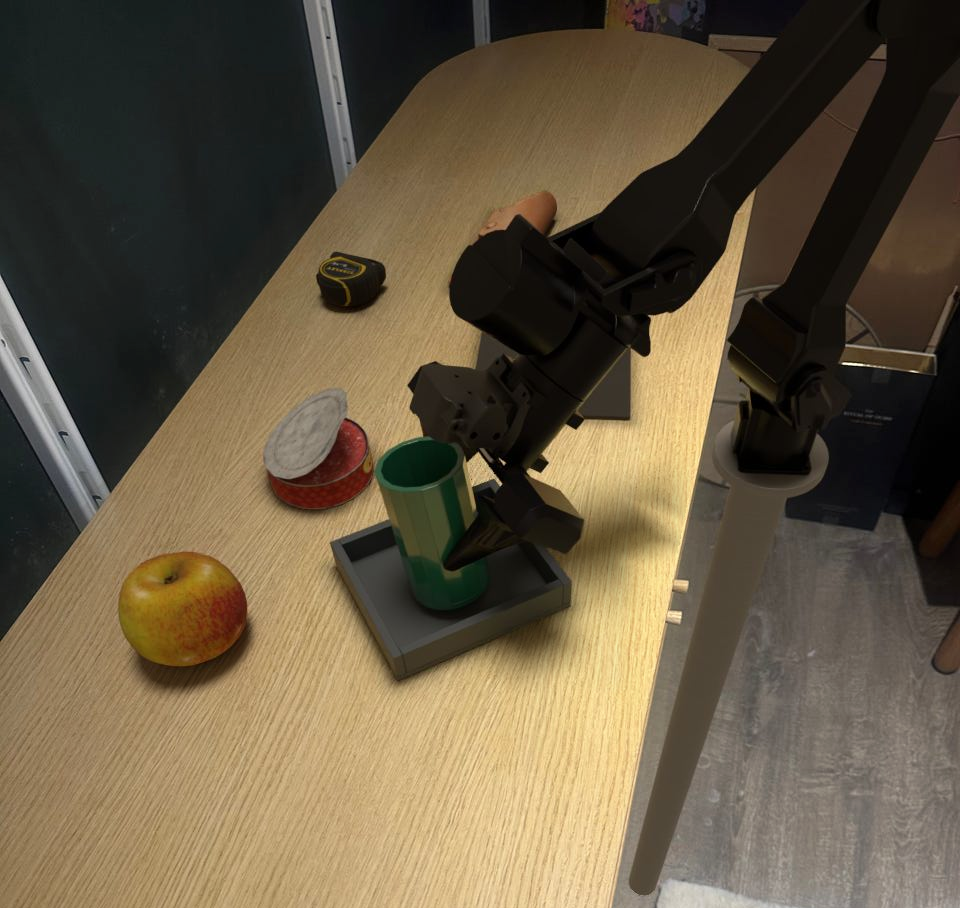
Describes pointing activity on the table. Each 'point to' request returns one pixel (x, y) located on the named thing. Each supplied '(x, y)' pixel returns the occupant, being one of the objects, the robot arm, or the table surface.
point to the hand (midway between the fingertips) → (427, 537)
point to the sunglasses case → (523, 214)
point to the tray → (445, 633)
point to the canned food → (318, 453)
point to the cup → (431, 519)
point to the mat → (605, 398)
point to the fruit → (182, 608)
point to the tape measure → (349, 279)
